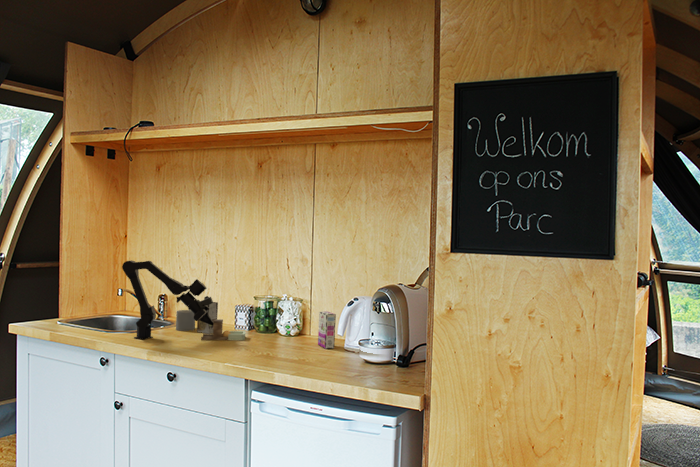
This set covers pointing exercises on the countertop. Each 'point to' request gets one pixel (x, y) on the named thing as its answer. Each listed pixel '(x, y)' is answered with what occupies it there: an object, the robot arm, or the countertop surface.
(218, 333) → the brown wooden box
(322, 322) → the candy bar box
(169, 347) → the countertop surface
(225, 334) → the ball
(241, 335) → the grey-green flat block
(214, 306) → the coffee box
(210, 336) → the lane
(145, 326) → the robot arm
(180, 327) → the coffee mug
